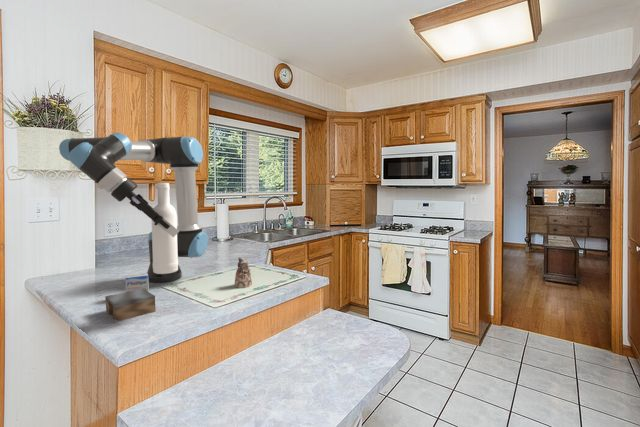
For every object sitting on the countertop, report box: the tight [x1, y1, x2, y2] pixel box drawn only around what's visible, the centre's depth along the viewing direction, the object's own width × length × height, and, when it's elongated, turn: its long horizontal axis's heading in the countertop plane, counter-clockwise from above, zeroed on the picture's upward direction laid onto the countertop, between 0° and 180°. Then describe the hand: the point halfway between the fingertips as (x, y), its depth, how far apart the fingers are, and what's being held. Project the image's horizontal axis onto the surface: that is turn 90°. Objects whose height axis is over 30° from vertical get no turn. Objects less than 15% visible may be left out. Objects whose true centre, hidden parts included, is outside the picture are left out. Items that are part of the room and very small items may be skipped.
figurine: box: [234, 257, 253, 289], centre depth 147 cm, size 7×7×12 cm
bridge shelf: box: [104, 289, 157, 322], centre depth 117 cm, size 12×12×6 cm
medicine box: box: [124, 273, 150, 293], centre depth 133 cm, size 8×4×9 cm, turn 118°
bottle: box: [151, 182, 179, 274], centre depth 115 cm, size 8×8×30 cm
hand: (175, 232), depth 117 cm, fingers closed on bottle, 8 cm apart
